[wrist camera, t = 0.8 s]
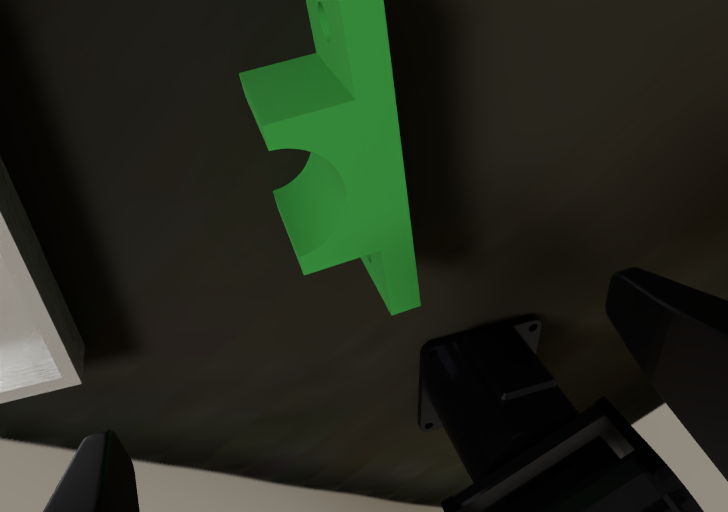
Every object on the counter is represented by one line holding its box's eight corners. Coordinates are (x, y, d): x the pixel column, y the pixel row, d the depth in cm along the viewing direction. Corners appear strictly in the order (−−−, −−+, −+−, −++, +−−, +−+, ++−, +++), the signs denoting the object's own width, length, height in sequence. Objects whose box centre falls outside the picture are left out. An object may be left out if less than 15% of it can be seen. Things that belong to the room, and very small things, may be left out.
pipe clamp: (207, -29, 17) (227, 6, 13) (330, -57, 18) (380, -31, 14) (294, 267, 24) (322, 342, 20) (380, 239, 24) (422, 307, 21)
